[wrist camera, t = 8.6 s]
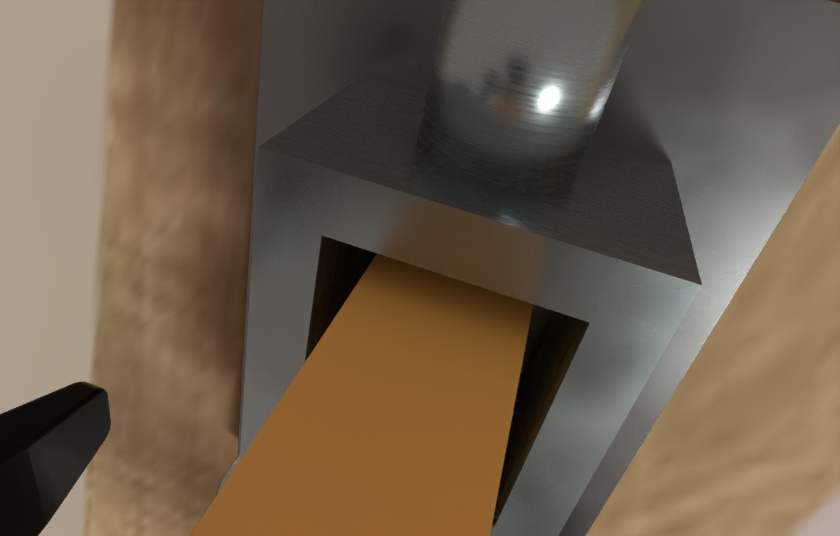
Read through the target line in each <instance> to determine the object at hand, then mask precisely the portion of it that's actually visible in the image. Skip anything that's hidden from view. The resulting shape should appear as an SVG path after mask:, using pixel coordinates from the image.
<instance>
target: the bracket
mask: <svg viewBox="0 0 840 536" xmlns="http://www.w3.org/2000/svg"><path fill="white" fill-rule="evenodd" d="M839 124H840V1H838V0H263V18H262V35H261V53H260V70H259V88H258V106H257V123H256V141H255V158H254V176H253V193H252V211H251V229H250V246H249V264H248V281H247V299H246V317H245V334H244V352H243V369H242V387H241V405H240V422H239V440H238V457H237V459H236V460H235V462H234V463H233V465H232V466H231V468H230V469H229V471H228V472H227V474H226V475H225V477H224V478H223V480H222V483H221V485H220V488H219V491H220V490H221V488H222V487H223V485H224V484H225V482H226V481H227V479H228V478H229V476H230V475H231V473H232V472H233V470H234V469H235V467H236V466H237V464H238V463H239V461H240V460H241V458H242V457H243V455H244V454H245V452H246V451H247V449H248V448H249V446H250V445H251V443H252V442H253V440H254V439H255V437H256V436H257V434H258V433H259V431H260V430H261V428H262V426H263V425H264V423H265V422H266V420H267V419H268V417H269V416H270V414H271V413H272V411H273V410H274V408H275V407H276V405H277V404H278V402H279V401H280V399H281V398H282V396H283V395H284V393H285V392H286V390H287V389H288V387H289V386H290V384H291V383H292V381H293V380H294V378H295V377H296V375H297V374H298V372H299V371H300V369H301V368H302V366H303V365H304V363H305V362H306V360H307V359H308V357H309V356H310V354H311V353H312V351H313V350H314V348H315V347H316V345H317V344H318V342H319V341H320V339H321V338H322V336H323V335H324V333H325V332H326V330H327V329H328V327H329V326H330V324H331V323H332V321H333V319H334V318H335V316H336V315H337V313H338V312H339V310H340V309H341V307H342V306H343V304H344V303H345V301H346V300H347V298H348V297H349V295H350V294H351V292H352V291H353V289H354V288H355V286H356V285H357V283H358V282H359V280H360V279H361V277H362V276H363V274H364V273H365V271H366V270H367V268H368V267H369V265H370V264H371V262H372V261H373V259H374V258H375V256H376V255H377V254H381V255H384V256H387V257H390V258H393V259H396V260H399V261H402V262H405V263H408V264H411V265H414V266H417V267H420V268H423V269H427V270H430V271H433V272H436V273H439V274H442V275H445V276H448V277H451V278H454V279H457V280H460V281H463V282H466V283H470V284H473V285H476V286H479V287H482V288H485V289H488V290H491V291H494V292H497V293H500V294H503V295H506V296H509V297H512V298H516V299H519V300H522V301H525V302H528V303H531V304H533V308H532V313H531V319H530V324H529V330H528V335H527V340H526V346H525V351H524V356H523V362H522V367H521V372H520V378H519V383H518V388H517V394H516V399H515V404H514V410H513V415H512V421H511V426H510V431H509V437H508V442H507V447H506V453H505V458H504V463H503V469H502V474H501V479H500V485H499V490H498V495H497V501H496V506H495V512H494V517H493V522H492V528H491V533H490V536H585V535H586V534H587V532H588V530H589V529H590V527H591V526H592V524H593V522H594V521H595V519H596V517H597V516H598V514H599V513H600V511H601V509H602V508H603V506H604V505H605V503H606V501H607V500H608V498H609V496H610V495H611V493H612V492H613V490H614V488H615V487H616V485H617V483H618V482H619V480H620V479H621V477H622V475H623V474H624V472H625V470H626V469H627V467H628V466H629V464H630V462H631V461H632V459H633V458H634V456H635V454H636V453H637V451H638V449H639V448H640V446H641V445H642V443H643V441H644V440H645V438H646V436H647V435H648V433H649V432H650V430H651V428H652V427H653V425H654V423H655V422H656V420H657V419H658V417H659V415H660V414H661V412H662V410H663V409H664V407H665V406H666V404H667V402H668V401H669V399H670V398H671V396H672V394H673V393H674V391H675V389H676V388H677V386H678V385H679V383H680V381H681V380H682V378H683V376H684V375H685V373H686V372H687V370H688V368H689V367H690V365H691V363H692V362H693V360H694V359H695V357H696V355H697V354H698V352H699V351H700V349H701V347H702V346H703V344H704V342H705V341H706V339H707V338H708V336H709V334H710V333H711V331H712V329H713V328H714V326H715V325H716V323H717V321H718V320H719V318H720V316H721V315H722V313H723V312H724V310H725V308H726V307H727V305H728V303H729V302H730V300H731V299H732V297H733V295H734V294H735V292H736V291H737V289H738V287H739V286H740V284H741V282H742V281H743V279H744V278H745V276H746V274H747V273H748V271H749V269H750V268H751V266H752V265H753V263H754V261H755V260H756V258H757V256H758V255H759V253H760V252H761V250H762V248H763V247H764V245H765V244H766V242H767V240H768V239H769V237H770V235H771V234H772V232H773V231H774V229H775V227H776V226H777V224H778V222H779V221H780V219H781V218H782V216H783V214H784V213H785V211H786V209H787V208H788V206H789V205H790V203H791V201H792V200H793V198H794V197H795V195H796V193H797V192H798V190H799V188H800V187H801V185H802V184H803V182H804V180H805V179H806V177H807V175H808V174H809V172H810V171H811V169H812V167H813V166H814V164H815V162H816V161H817V159H818V158H819V156H820V154H821V153H822V151H823V149H824V148H825V146H826V145H827V143H828V141H829V140H830V138H831V137H832V135H833V133H834V132H835V130H836V128H837V127H838V125H839ZM219 491H218V493H219Z"/></svg>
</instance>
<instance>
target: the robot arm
mask: <svg viewBox="0 0 840 536" xmlns="http://www.w3.org/2000/svg"><path fill="white" fill-rule="evenodd" d="M110 426H111V419H110V411H109V402H108V395H107V392H106V391H105V390H104V389H103V388H101V387H98V386H95V385H93V384H90V383H87V382H76V383H73V384H71V385H68V386H66V387H64V388H61V389H59V390H57V391H54V392H52V393H49V394H47V395H45V396H42V397H40V398H38V399H35V400H33V401H30V402H28V403H26V404H23V405H21V406H19V407H16V408H14V409H11V410H9V411H7V412H4V413H2V414H0V536H38V535H39V534H40V533H41V531H42V530H43V529H44V527H45V526H46V525H47V524H48V522H49V521H50V519H51V518H52V517H53V515H54V514H55V512H56V511H57V509H58V508H59V506H60V505H61V504H62V502H63V501H64V499H65V498H66V496H67V495H68V493H69V492H70V490H71V489H72V488H73V486H74V485H75V483H76V482H77V480H78V479H79V477H80V476H81V474H82V473H83V471H84V470H85V468H86V467H87V465H88V464H89V462H90V461H91V460H92V458H93V457H94V455H95V454H96V452H97V451H98V449H99V448H100V446H101V445H102V443H103V442H104V440H105V439H106V437H107V435H108V433H109V430H110Z"/></svg>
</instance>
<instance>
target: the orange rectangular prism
mask: <svg viewBox="0 0 840 536" xmlns="http://www.w3.org/2000/svg"><path fill="white" fill-rule="evenodd" d="M532 308H533V304H531V303H528V302H525V301H522V300H519V299H516V298H512V297H509V296H506V295H503V294H500V293H497V292H494V291H491V290H488V289H485V288H482V287H479V286H476V285H473V284H470V283H466V282H463V281H460V280H457V279H454V278H451V277H448V276H445V275H442V274H439V273H436V272H433V271H430V270H427V269H423V268H420V267H417V266H414V265H411V264H408V263H405V262H402V261H399V260H396V259H393V258H390V257H387V256H384V255H381V254H377V255H376V256H375V258H374V259H373V261H372V262H371V264H370V265H369V267H368V268H367V270H366V271H365V273H364V274H363V276H362V277H361V279H360V280H359V282H358V283H357V285H356V286H355V288H354V289H353V291H352V292H351V294H350V295H349V297H348V298H347V300H346V301H345V303H344V304H343V306H342V307H341V309H340V310H339V312H338V313H337V315H336V316H335V318H334V319H333V321H332V323H331V324H330V326H329V327H328V329H327V330H326V332H325V333H324V335H323V336H322V338H321V339H320V341H319V342H318V344H317V345H316V347H315V348H314V350H313V351H312V353H311V354H310V356H309V357H308V359H307V360H306V362H305V363H304V365H303V366H302V368H301V369H300V371H299V372H298V374H297V375H296V377H295V378H294V380H293V381H292V383H291V384H290V386H289V387H288V389H287V390H286V392H285V393H284V395H283V396H282V398H281V399H280V401H279V402H278V404H277V405H276V407H275V408H274V410H273V411H272V413H271V414H270V416H269V417H268V419H267V420H266V422H265V423H264V425H263V426H262V428H261V430H260V431H259V433H258V434H257V436H256V437H255V439H254V440H253V442H252V443H251V445H250V446H249V448H248V449H247V451H246V452H245V454H244V455H243V457H242V458H241V460H240V461H239V463H238V464H237V466H236V467H235V469H234V470H233V472H232V473H231V475H230V476H229V478H228V479H227V481H226V482H225V484H224V485H223V487H222V488H221V490H220V491H219V493H218V494H217V496H216V497H215V499H214V500H213V502H212V503H211V505H210V506H209V508H208V509H207V511H206V512H205V514H204V515H203V517H202V518H201V520H200V521H199V523H198V524H197V526H196V527H195V529H194V530H193V532H192V533H191V535H190V536H490V533H491V528H492V522H493V517H494V512H495V506H496V501H497V495H498V490H499V485H500V479H501V474H502V469H503V463H504V458H505V453H506V447H507V442H508V437H509V431H510V426H511V421H512V415H513V410H514V404H515V399H516V394H517V388H518V383H519V378H520V372H521V367H522V362H523V356H524V351H525V346H526V340H527V335H528V330H529V324H530V319H531V313H532Z"/></svg>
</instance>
